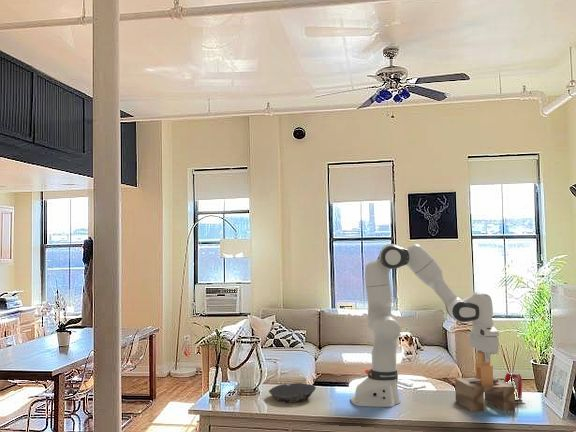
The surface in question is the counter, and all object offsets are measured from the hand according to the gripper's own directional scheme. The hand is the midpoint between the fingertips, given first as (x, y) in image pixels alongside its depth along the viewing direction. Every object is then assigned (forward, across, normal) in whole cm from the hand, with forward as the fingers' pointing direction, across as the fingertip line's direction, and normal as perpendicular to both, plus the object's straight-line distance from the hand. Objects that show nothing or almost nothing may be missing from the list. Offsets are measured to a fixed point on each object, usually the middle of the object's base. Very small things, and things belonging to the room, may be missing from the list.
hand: (483, 360), depth 241 cm
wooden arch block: (+20, 0, 0) cm, 20 cm away
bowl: (+20, -22, -83) cm, 88 cm away
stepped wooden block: (+12, 0, 0) cm, 12 cm away
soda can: (+20, -7, +18) cm, 28 cm away
